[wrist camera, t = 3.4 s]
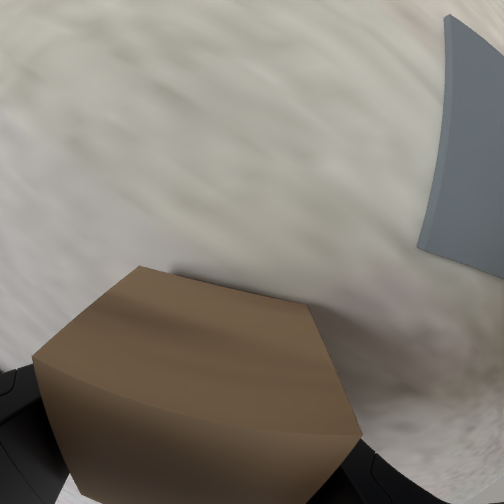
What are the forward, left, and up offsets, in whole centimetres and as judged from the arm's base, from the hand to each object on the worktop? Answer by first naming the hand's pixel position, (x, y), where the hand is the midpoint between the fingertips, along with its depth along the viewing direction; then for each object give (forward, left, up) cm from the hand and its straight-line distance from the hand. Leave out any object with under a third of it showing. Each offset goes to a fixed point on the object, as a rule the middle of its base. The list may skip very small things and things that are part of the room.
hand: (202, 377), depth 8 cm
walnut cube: (0, 0, -1) cm, 1 cm away
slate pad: (+10, -11, -2) cm, 15 cm away
